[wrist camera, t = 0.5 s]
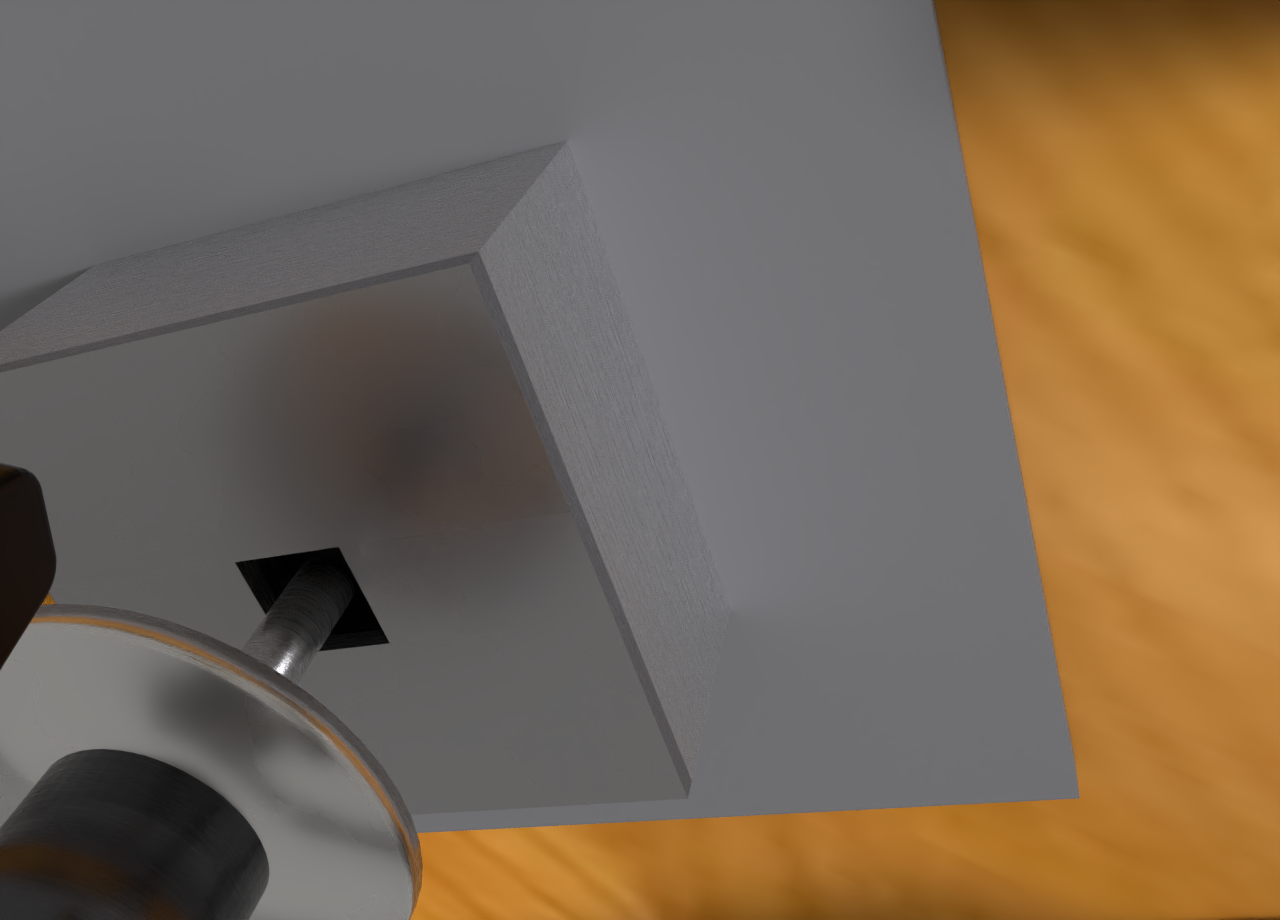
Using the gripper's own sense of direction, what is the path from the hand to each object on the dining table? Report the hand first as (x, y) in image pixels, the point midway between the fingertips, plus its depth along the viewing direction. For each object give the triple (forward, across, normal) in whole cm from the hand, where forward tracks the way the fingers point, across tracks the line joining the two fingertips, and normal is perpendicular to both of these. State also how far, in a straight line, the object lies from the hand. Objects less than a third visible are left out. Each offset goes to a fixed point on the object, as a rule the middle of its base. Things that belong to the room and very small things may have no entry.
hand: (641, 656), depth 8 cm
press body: (+14, +6, +8) cm, 17 cm away
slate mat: (+14, +6, +8) cm, 17 cm away
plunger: (+8, +6, +8) cm, 13 cm away
